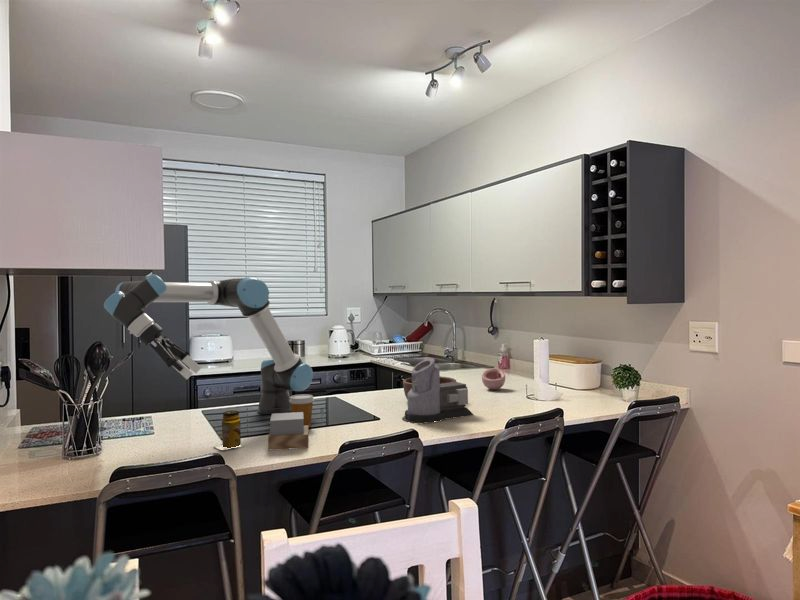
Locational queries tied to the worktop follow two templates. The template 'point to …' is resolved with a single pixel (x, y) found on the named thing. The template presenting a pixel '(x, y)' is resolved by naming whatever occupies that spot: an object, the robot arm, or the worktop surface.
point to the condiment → (231, 429)
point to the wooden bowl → (408, 383)
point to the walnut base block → (289, 440)
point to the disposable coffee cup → (302, 406)
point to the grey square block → (287, 423)
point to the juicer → (434, 396)
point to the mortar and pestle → (493, 378)
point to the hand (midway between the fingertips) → (194, 373)
